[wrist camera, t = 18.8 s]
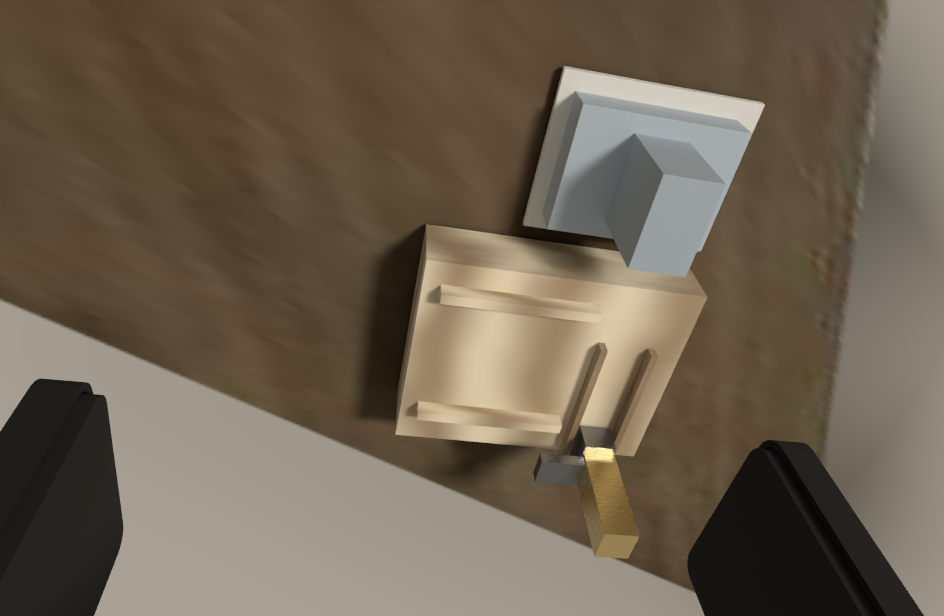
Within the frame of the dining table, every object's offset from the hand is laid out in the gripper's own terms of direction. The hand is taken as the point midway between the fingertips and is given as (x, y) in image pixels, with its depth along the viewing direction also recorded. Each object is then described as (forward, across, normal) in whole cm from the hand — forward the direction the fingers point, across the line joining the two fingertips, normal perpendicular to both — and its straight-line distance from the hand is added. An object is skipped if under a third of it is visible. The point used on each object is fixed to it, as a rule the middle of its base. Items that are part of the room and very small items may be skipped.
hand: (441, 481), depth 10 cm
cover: (+27, -13, +5) cm, 31 cm away
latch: (+24, -13, +22) cm, 35 cm away
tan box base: (+28, -10, +17) cm, 34 cm away
